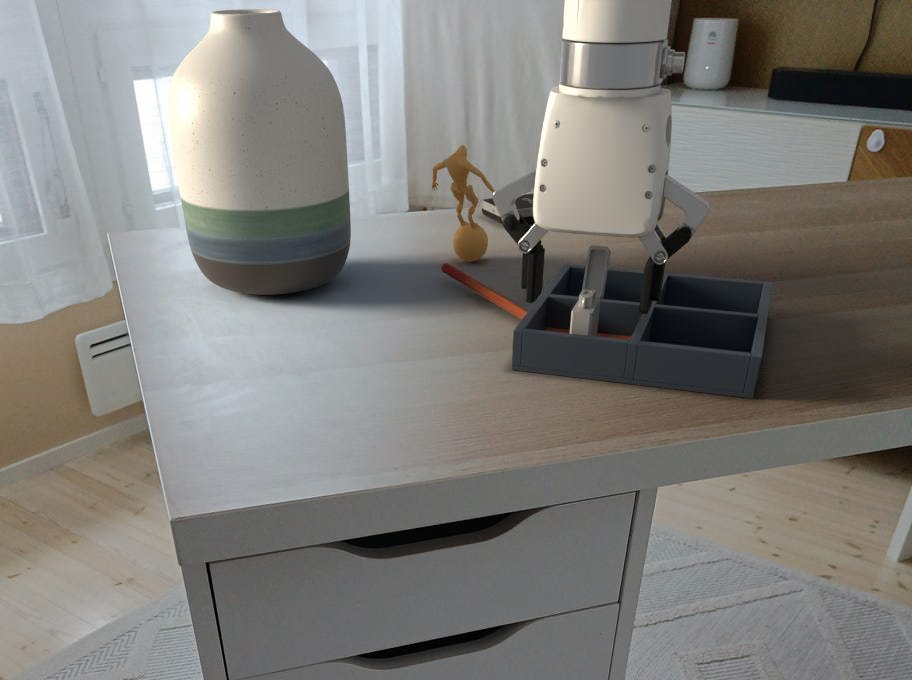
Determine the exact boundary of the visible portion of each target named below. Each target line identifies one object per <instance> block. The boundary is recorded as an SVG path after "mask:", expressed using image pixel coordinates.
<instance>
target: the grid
mask: <svg viewBox="0 0 912 680" xmlns="http://www.w3.org/2000/svg"><path fill="white" fill-rule="evenodd" d="M585 268H586V265H577V264H569V263H567V264H566V263H564V264H563V265H562V266H561V267H560V269H559V270H558V271H557V273H556V274H555V275H554V276H553V278H552V279H551V280H550V282H549V283H548V284H547V286H546V287H545V289H543V290H542V293H541V294H540V296H539V297H538V298H537V300H536V301H535V302H533V303H532V305H531V307H530V308H529V309H528V310H529V311H528V312H527V314H526V315H525V316H524V318H523V319H522V320H521V319H520V322H519V323H518V324H517V325H516V327H515V328H514V329H513V331H512V352H511V370H512V371H517V372H525V373H527V372H528V373H533V374H535V373H536V374H543V375H553V376H559V377H560V376H561V377H567V378H568V377H569V378H578V379H585V380H595V381H602V382H611V383H618V384H619V383H620V384H626V385H627V384H628V385H636V386H643V387H654V388H661V389H669V390H678V391H686V392H687V391H688V392H693V393H694V392H695V393H702V394H703V393H704V394H711V395H718V396H719V395H720V396H726V397H727V396H728V397H737V398H745V399H754V395H755V391H756V386H757V383H758V378H759V372H760V368H761V365H762V359H763V355H764V354H763V353H764V346H765V339H766V331H767V323H768V317H769V310H770V302H771V296H772V289H773V282H772V281H762V280H749V279H740V278H739V279H737V278H729V277H728V278H725V277H717V276H715V277H714V276H704V275H692V274H681V273H669V272H664V277H663V284H662V291H661V296H660V300H659V302H658V301H652V305H651V307H650V309H649V312H648V314H641V312H639V307H640V299H641V291H642V283H643V276H644V270H638V269H637V270H635V269H623V268H612V267H608V272H607V278H606V284H605V290H604V296H603V299H602V300H600V310H599V319H598V329H597V336H589V335H580V334H571V333H570V323H571V312H572V309H573V308H574V306H575V305H576V303H577V302H578V300H579V295H580V293H581V292H582V287H583V281H584V274H585ZM546 327H547V328H546Z"/></svg>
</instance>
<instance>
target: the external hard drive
mask: <svg viewBox="0 0 912 680" xmlns="http://www.w3.org/2000/svg"><path fill="white" fill-rule="evenodd" d="M533 198H534V192H532V193H526V194H524V195H522V196H520V197H518V198H516V199H515V205H516V207H517V208H516V209H517V211H518V213H519V214H520V215H521V216H522V217H523V219H524V220H525V221H526V222H527V224H530V223H535V221H534V217H533ZM481 212H482V215H484V216H485V217H488V218H490V219H492V220H494V221H496V222H497V223H500V224H502V225H503V221H502V218H501V217H500V215H499V213H498V210H497V208H496V206H495V203H494V201H493V197H489V198H483V199H481Z"/></svg>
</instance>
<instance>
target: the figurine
mask: <svg viewBox="0 0 912 680" xmlns="http://www.w3.org/2000/svg"><path fill="white" fill-rule="evenodd" d="M467 158H468V149H467V147H466V146H465V145H464V144H462V145H460V146H458V148H457V150H456V151H454V152H453V153H452V154H450V155H449V156H448V157H447V158H444V159H443V160H442V161H441V162H438V163H436V164H435V165H434V166H433V167H432V170H431V171H432V172H431V173H432V174H431V176H432V177H431V190H432V191H436V190H437V191H438V186H440V184H438V182H437V177H438V171H440V170H442V169H445V168H446V170H447V172H448V174H449V176H450V178H451V180H452V183H451V184H450V192H451V193H452V196H453V197H454V198H455V200H457V202H458V204H457V206H456V207H455V208H456V209H455V212H456V217H457V219H458V221H459V224H460V226H459V227H458V228H457V229H456V231H455V232H454V234H453V236H452V248H453V251H454V253H455V255H456V256H457V257H458V258H459V259H460V260H462V261H465V262H468V263H469V262H476V261H478V260H480V259H481V258H482V257H483V256H484V255H485V254H486V252H487V250H488V246H489V238H488V237H489V236H488V234H487V232H486V231H485V229H484V228H483V226H481V225H479V223H478V222H475V221H474V219H473V215H474V214H475V213H476V208H477V206H478V204H479V198H478V196H477V195H476V193H475V192H474V188H473V185H472V184H467V183H468V176H469V173H472V174H474V175H475V176H477V177H479V178H480V179H481V181H482V182H483V184H484V185H485V186H486V188H487V189H488V190H489V191H490V192H491V193H492V195H493V194H494V192H496V190H495V189H494V187H493V185H492V184H491V183H490V181H489V180H488V179H487V178H486V176H485V175H484V172H482V171H481V170H480V169H479V168H477V167H476V166H474V165H473V164H472V163H471V162H470V161H469V160H468V159H467ZM465 199H466V200H467V201H468V202H470V203H471V206H470V207H469V208H468V210H467V220H468V221H466V220H464V218H463V215H462V211H463V209H464V203H465Z"/></svg>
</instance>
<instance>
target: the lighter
mask: <svg viewBox="0 0 912 680" xmlns="http://www.w3.org/2000/svg"><path fill="white" fill-rule="evenodd" d="M611 255H612V252H611V250H610V248H609V246H607V245H606V246H605V245H594V244H593V245H592V244H591V245H590V246H588V251H587V257H586V263H585V266H586V268H585V274H584V281H583V287H582V292H581V293H580V295H579V300H578V302H577V303H576V305H575V306H574V308H573V309H572V312H571V323H570V333H571V334H580V335H589V336H597V329H598V319H599V310H600V300H602V299H603V296H604V290H605V284H606V278H607V272H608V268H609V266H610V260H611Z"/></svg>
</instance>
